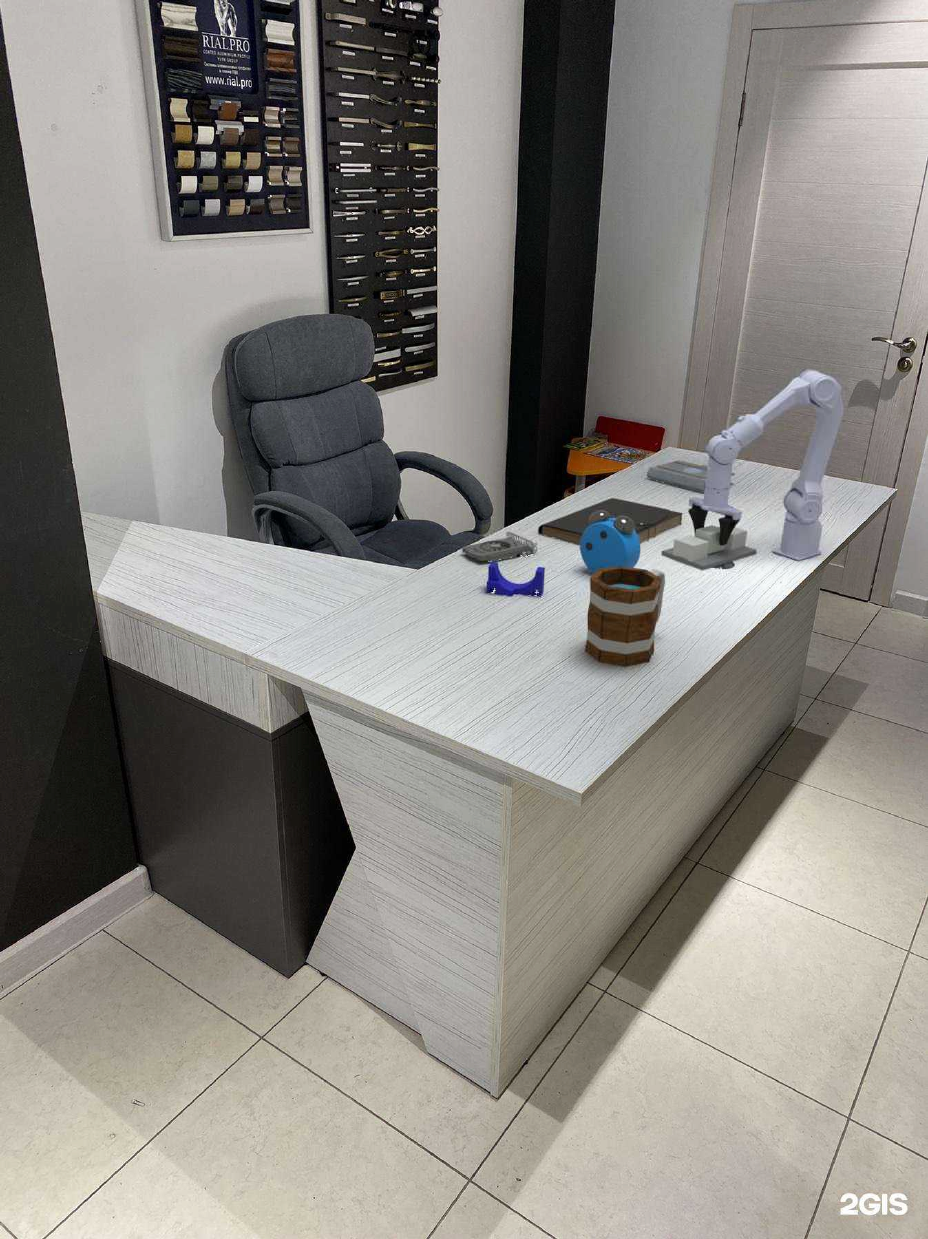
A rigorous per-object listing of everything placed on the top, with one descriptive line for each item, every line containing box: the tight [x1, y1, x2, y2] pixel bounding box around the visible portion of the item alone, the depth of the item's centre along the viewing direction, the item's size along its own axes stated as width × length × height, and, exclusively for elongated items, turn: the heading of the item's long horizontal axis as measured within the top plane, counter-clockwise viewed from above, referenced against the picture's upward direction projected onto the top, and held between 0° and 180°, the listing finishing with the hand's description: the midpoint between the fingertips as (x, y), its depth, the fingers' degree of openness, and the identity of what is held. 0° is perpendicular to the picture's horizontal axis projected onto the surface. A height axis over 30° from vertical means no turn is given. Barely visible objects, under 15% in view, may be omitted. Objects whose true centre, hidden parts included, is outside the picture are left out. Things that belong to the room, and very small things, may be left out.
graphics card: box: [461, 531, 538, 563], centre depth 233 cm, size 17×4×12 cm
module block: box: [694, 524, 725, 554], centre depth 234 cm, size 6×4×5 cm
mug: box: [584, 566, 666, 668], centre depth 183 cm, size 20×14×15 cm
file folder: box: [537, 497, 684, 546], centre depth 252 cm, size 33×4×24 cm
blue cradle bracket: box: [485, 561, 546, 598], centre depth 209 cm, size 12×4×6 cm, turn 76°
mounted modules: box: [672, 526, 748, 562], centre depth 234 cm, size 20×6×4 cm, turn 127°
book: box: [646, 459, 736, 495], centre depth 295 cm, size 21×16×5 cm
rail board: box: [661, 545, 758, 571], centre depth 235 cm, size 20×13×1 cm, turn 127°
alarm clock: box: [579, 510, 641, 574], centre depth 218 cm, size 13×6×15 cm, turn 47°
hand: (710, 540), depth 234 cm, fingers open, 7 cm apart
